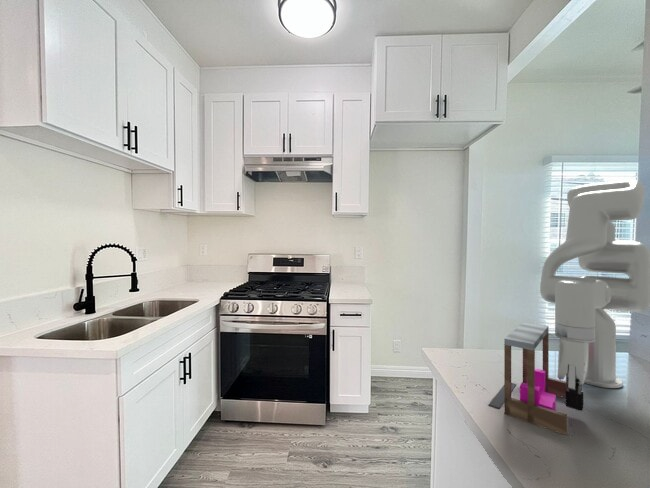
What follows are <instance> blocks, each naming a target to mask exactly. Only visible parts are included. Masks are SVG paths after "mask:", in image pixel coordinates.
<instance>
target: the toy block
mask: <svg viewBox="0 0 650 488" xmlns="http://www.w3.org/2000/svg"><path fill="white" fill-rule="evenodd" d="M556 397H557V395H555V394H551V393H547V392H545V371H544V370H543V369H539V368H535V405H537V406H541V407H544V408H547V409H551V410H554V411H556V409H557V408H556V406H557V402H556V400H557V399H556ZM519 400H521V401H524V402H527V403H528V378H527V384H526V383H523V382H521V383H520V385H519Z"/></svg>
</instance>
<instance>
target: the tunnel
mask: <svg viewBox="0 0 650 488" xmlns="http://www.w3.org/2000/svg"><path fill="white" fill-rule="evenodd" d="M549 329H550V328H549V326H548V325H545V324H538V323H531V322H525V321H523V322H522V323H521V324H520V325H519V326H518V327H516V328H515V329H514V330H513V331H511V333H509V334H508V335H507V336H506V337H505V338H504V373H503V374H504V375H503V376H504V377H503V378H504V384H503V386H504V403H503V405H504V407H503V408H504V409H503V410H504V415H507V416H509V417H513V418H514V419H518V420H521V421H524V422H527V423H529V424H533V425H536V426H538V427H542V428H545V429H547V430H551V431H553V432H557V433H559V434H562V435H565V436H567V435H568V414H566V413H563V412H560V411H557V410H555V411H554V410H551V409H547V408H544V407H541V406H537V405H535V369H536V363H535V362H536V357H535V355H536V354H535V353H536V348H537V347H538V345H540V343H541V342H542V370H544V371H545V392H547V393H551V394H555V395H556V397H561V398H564V399H566V380H562V379H561V380H559V379H558V378H554V377H550V375H549V364H550V363H549V356H550V355H549V343H550V342H549V337H550V336H549V335H550V333H549ZM512 347H514V348H520V349H522V383H526V384H527V378H528V403H527V402H524V401H521V400H520V399H517V398H513V397H512V392H511V383H512Z"/></svg>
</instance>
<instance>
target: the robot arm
mask: <svg viewBox="0 0 650 488" xmlns="http://www.w3.org/2000/svg"><path fill="white" fill-rule="evenodd" d="M645 197H646V189H645V186H644V184H643V183H642V181H640V180H638V179H628V180H627V179H626V180H618V181H609V182H598V183H589V184H583V185H578V186H575V187H572V188H571V189H569V191H568V192H567V196H566V198H567V205H568V207H569V211H568V220H567V227H566V228H567V230H566V239H565V241H564V242H563V243H561V244H560V245H559V246H557V247H556V248H555V249H553V251H552V252H551V253H550V254H548V257H547V258H546V259H545V261H544V263H543V266H542V270H541V278H540V285H539V289H540V290H539V292H540V296H541V298H542V299H543V300H544V301H545V302H547V303H551V304H554V321H555V322H554V336H555V337H557V338H559V342H558V354H557V355H558V357H557V358H558V360H557V362H558V363H557V380H561V381H562V380H564V379H565V382H566V398H565V406H566V407H567V408H570V409H574V410H576V411H580V412H582V411H583V410H584V392H583V385H584V384H587V385H591V386H594V387H599V388H606V389H619V388H622V387H623V386H624V381H623V379H622V378H620V377H619V376H617V372H616V371H617V326H616V322H615V320H614V319H613V318H612V317H611V316H610V314H608V313H607V311H606V310H613V311H623V312H630V313H644V312H646V311H648V310H649V308H650V249H649V247H648V246H647V244H644V243H643V242H639V241H616V238H615V237H616V226H615V224H614V222H612V221H632V220H636V219H637V218H638V217H639V216H640V214H641V213H642V210H643V206H644V202H645ZM576 258H577V260H578V265H579V268H581V269H582V270H584V271H587V272H593V273H595V272H596V273H606V274H609V273H610V274H622V275H627V278H626V277H612V276H611V277H610V276H599V275H598V276H597V275H583V276H568V275H567V276H565V275H556V274H557V271H558V269H559V268H560V267H561V266H563V265H564V264H565V263H567V262H568V261H571V260H573V259H576ZM628 277H629V278H628Z"/></svg>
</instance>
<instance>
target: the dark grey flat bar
mask: <svg viewBox="0 0 650 488" xmlns="http://www.w3.org/2000/svg"><path fill="white" fill-rule="evenodd" d="M516 386H517V384H516V383H514V382H511V393H512V392H513V390H514V389H515V388H516ZM503 405H504V385H503V386H501V388H500V389H499V390H498V392H497V393H496V394H495V395H494V397H493V398H492V399H491V400H490V402H489V403H488V406H489V407H493V408H495V409H499V410H500V409H501V407H503Z"/></svg>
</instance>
